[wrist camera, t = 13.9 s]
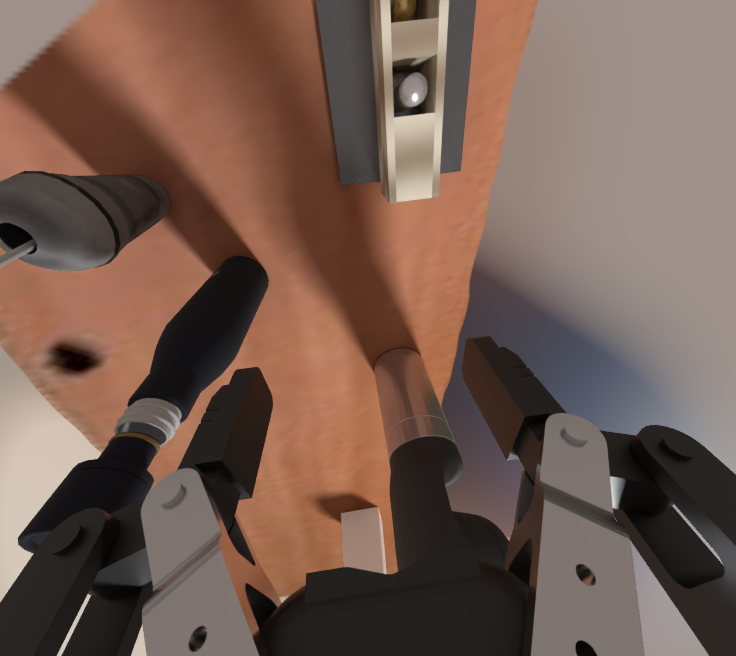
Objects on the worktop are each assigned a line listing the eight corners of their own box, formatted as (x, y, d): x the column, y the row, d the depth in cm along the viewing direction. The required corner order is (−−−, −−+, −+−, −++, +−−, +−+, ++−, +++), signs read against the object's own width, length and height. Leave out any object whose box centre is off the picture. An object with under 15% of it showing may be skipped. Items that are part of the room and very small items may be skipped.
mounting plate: (457, 170, 32) (485, 177, 26) (340, 184, 32) (342, 195, 25) (473, -11, 24) (520, -63, 18) (316, 5, 23) (309, -42, 17)
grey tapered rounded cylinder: (160, 154, 28) (-75, 176, 12) (195, 225, 33) (57, 311, 16) (92, 166, 28) (-235, 202, 12) (136, 235, 33) (-62, 331, 16)
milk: (378, 506, 85) (392, 629, 63) (381, 520, 91) (395, 635, 70) (340, 513, 85) (342, 637, 63) (347, 526, 91) (350, 643, 70)
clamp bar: (422, 187, 32) (438, 196, 27) (381, 193, 32) (389, 202, 27) (427, -44, 22) (454, -96, 17) (367, -38, 22) (376, -88, 17)
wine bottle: (263, 304, 40) (148, 568, 15) (216, 290, 38) (-3, 568, 13) (273, 266, 36) (148, 523, 12) (223, 248, 34) (-50, 513, 10)
